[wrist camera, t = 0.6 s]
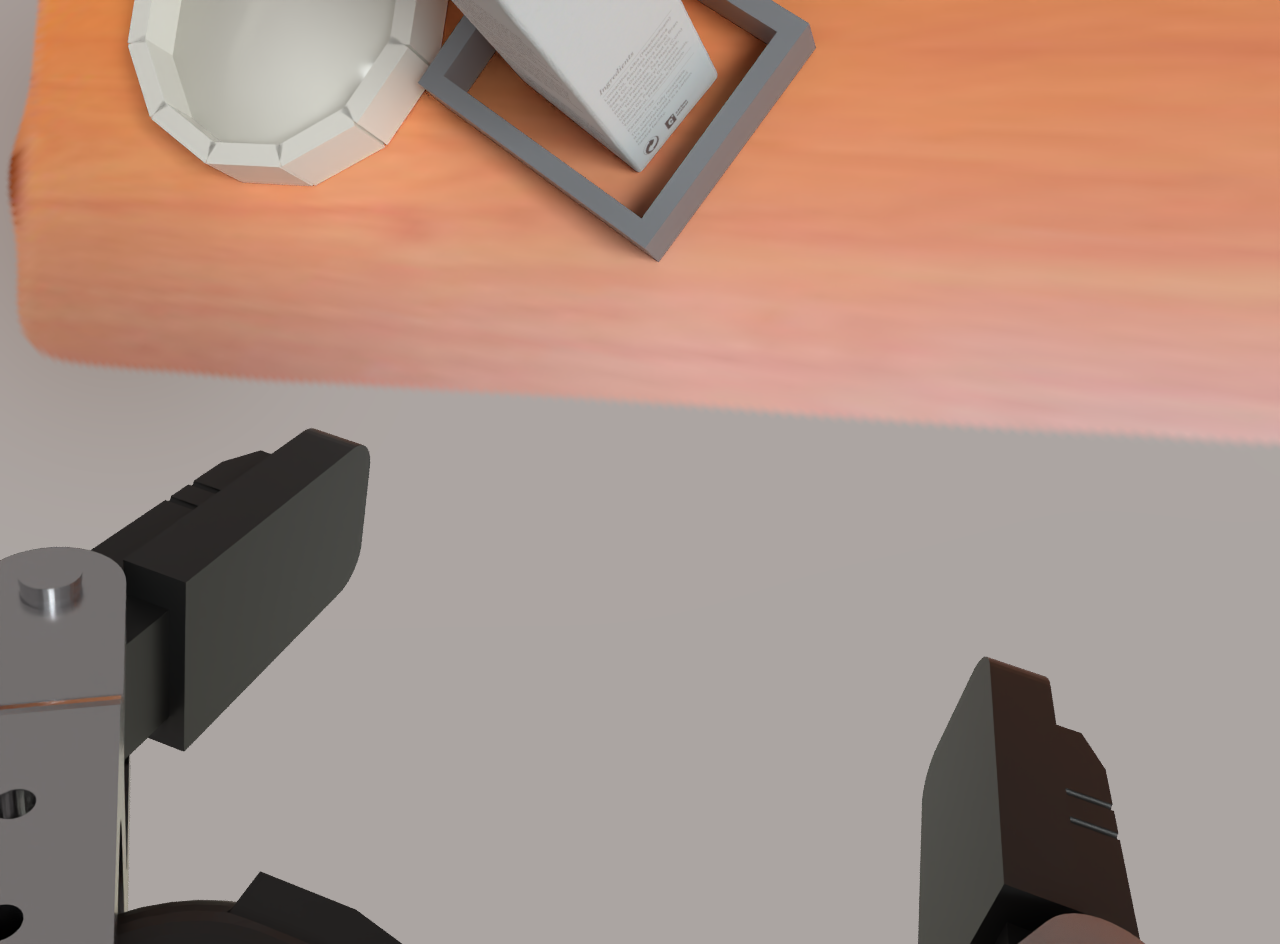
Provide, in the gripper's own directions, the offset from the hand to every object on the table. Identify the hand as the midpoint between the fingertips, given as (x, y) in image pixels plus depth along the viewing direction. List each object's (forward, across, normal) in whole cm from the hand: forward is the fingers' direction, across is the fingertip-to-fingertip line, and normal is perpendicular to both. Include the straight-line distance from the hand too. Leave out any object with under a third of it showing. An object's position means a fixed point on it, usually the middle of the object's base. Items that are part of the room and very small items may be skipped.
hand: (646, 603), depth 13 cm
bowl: (+27, +21, -1) cm, 34 cm away
